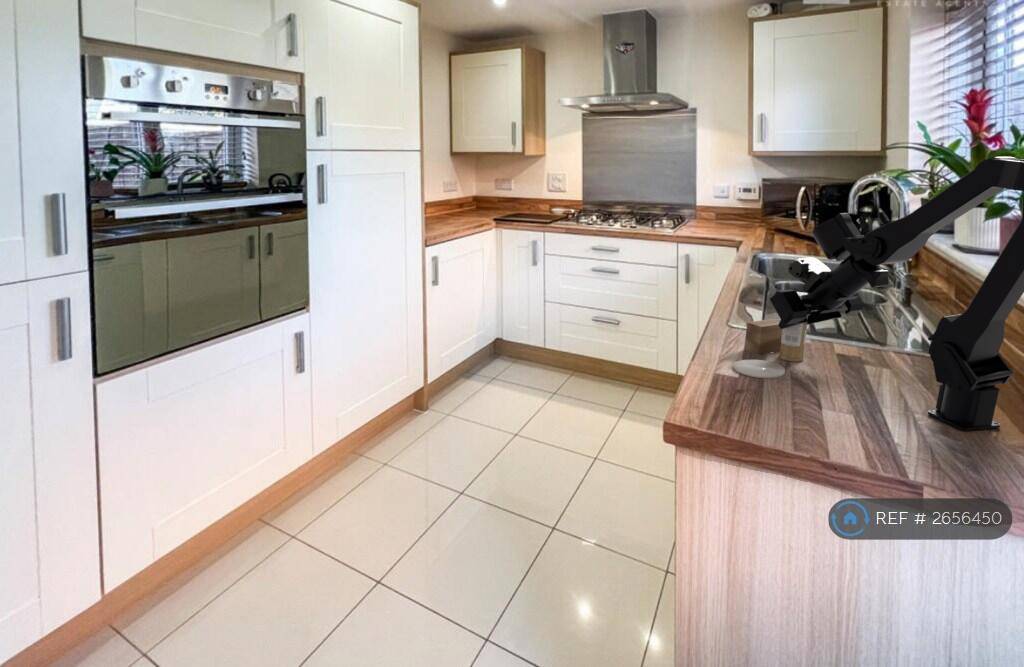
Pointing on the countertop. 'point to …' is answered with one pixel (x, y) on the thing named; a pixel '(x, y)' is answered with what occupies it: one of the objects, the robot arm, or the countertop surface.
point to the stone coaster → (759, 368)
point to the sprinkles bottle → (793, 340)
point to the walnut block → (763, 336)
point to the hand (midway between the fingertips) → (789, 325)
